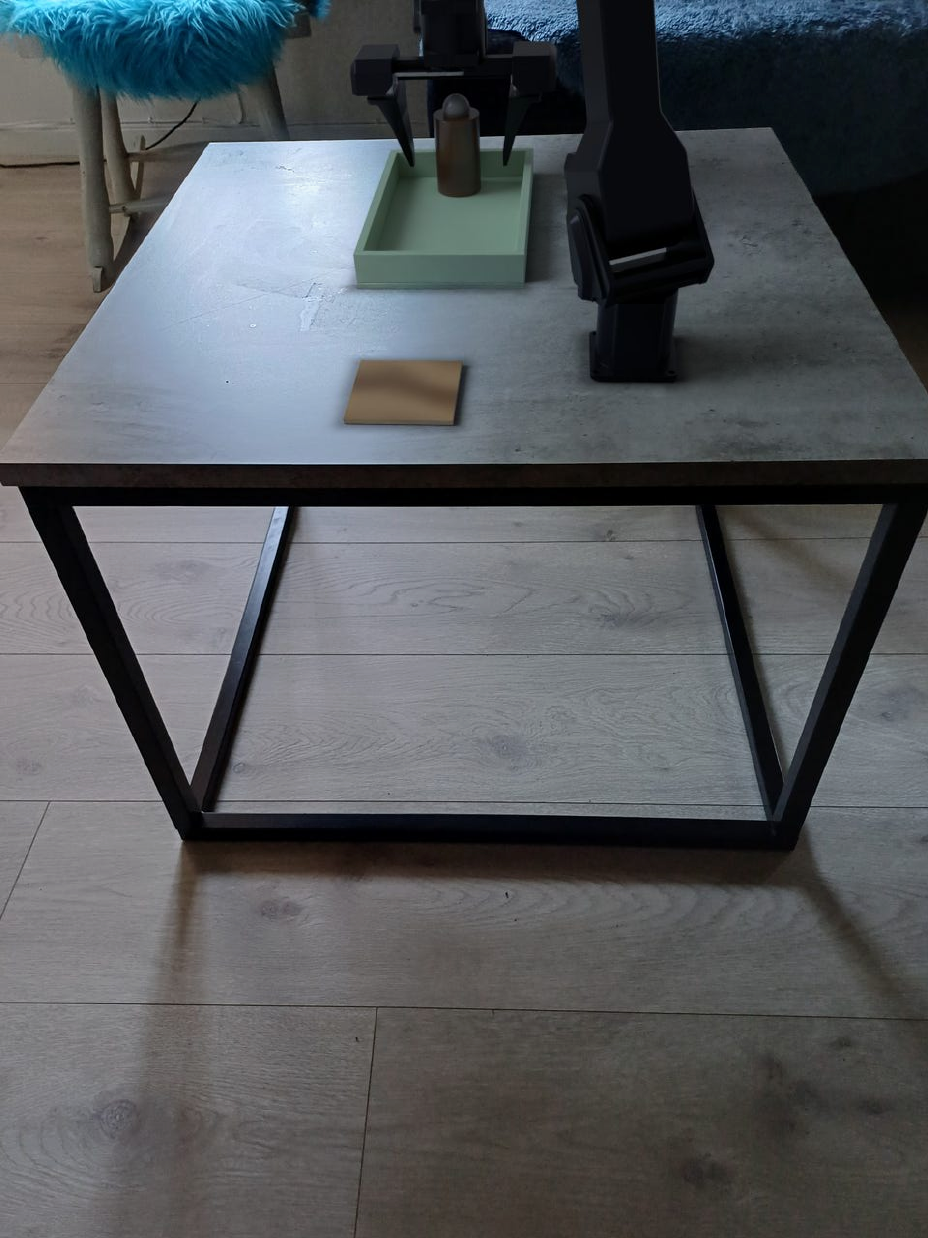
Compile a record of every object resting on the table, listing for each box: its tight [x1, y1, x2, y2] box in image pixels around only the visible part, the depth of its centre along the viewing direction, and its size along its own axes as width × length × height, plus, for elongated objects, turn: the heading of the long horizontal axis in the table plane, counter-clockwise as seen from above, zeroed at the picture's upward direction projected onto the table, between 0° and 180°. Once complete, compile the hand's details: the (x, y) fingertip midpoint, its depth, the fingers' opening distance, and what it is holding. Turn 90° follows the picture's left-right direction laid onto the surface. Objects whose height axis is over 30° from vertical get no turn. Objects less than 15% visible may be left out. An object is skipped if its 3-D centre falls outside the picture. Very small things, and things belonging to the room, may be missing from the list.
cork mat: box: [342, 359, 464, 426], centre depth 70 cm, size 8×8×1 cm
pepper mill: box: [432, 93, 481, 198], centre depth 91 cm, size 4×4×9 cm
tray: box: [352, 147, 535, 290], centre depth 88 cm, size 24×15×3 cm, turn 175°
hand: (458, 164), depth 93 cm, fingers open, 9 cm apart
